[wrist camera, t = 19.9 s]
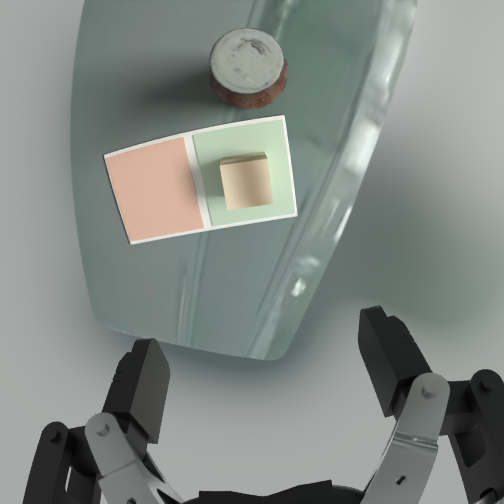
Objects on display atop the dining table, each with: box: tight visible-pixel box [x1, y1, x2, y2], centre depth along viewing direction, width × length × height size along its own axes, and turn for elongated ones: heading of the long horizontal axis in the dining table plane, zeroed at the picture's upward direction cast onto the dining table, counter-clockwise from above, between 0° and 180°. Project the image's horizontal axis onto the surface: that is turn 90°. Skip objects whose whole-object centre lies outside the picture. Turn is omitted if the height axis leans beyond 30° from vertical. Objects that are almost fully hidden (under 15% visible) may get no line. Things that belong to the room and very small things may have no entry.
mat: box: [104, 115, 297, 244], centre depth 36 cm, size 13×23×1 cm, turn 99°
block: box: [220, 152, 273, 210], centre depth 33 cm, size 5×5×5 cm
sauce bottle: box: [210, 28, 288, 109], centre depth 22 cm, size 7×6×20 cm
